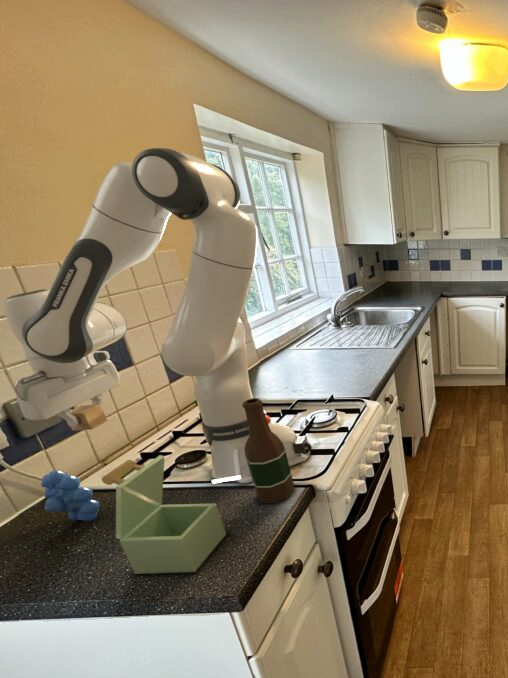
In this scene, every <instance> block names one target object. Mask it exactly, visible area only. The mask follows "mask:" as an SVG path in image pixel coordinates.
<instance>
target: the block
mask: <svg viewBox="0 0 508 678" xmlns="http://www.w3.org/2000/svg"><path fill="white" fill-rule="evenodd" d="M102 408H103V406H102V407H101V405H92V404H88V405H87V404H86V405H80V406H78V407H75V408H73V409H71V410H72V412H71V413H70V414H71V415H73V416H74V417H80V419H81V421H82V423H81V424H79V425H77V426H69V427H70V429H71V431H92V430H94V429H96V428H98V427H99V426H101V425H103V424H104V423H107V422H108V418H107V416H106V415H105V411H104V412H103V410H104V409H103V410H102Z"/></svg>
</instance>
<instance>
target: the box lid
mask: <svg viewBox="0 0 508 678" xmlns="http://www.w3.org/2000/svg"><path fill="white" fill-rule="evenodd" d="M164 470H165V455H161V454H159V455H158V456H156V457H155V458H154V459H152V460H151V461H150V462H148V463H147V464H145V465H141V464H137V462H136V461H135V460H132V459H127V460H126V461H124V462H123V463H121V464H119V465H118V466H117V467H115V468H114V469H111V471H109V472H108V473H106V474H105V475H103V476H102V477H101V482H102V483H103V484H105V485H107V486H111V485H114V484H117V485H116V486H115V539H118V540H121V539H122V538H124V536H126V535H127V534H128V533H129V532H130V531H131V530H132V529H134V528H135V527H136V526H137V525H138V524H139V523H140V522H142V521H143V520H144V519H145V518H146V517H147V516H148V515H150V514H151V513H152V512H153V511H154V510H155V509H157V508H158V507H159V506H160V505H163V504H162V503H163V491H164V490H163V489H164V472H165V471H164ZM131 471H136V472H135V473H133V474H132V475H130V476H129V477H127V478H126V479H125V478H123V477H124V476H127V475H128V474H129V473H130V472H131Z"/></svg>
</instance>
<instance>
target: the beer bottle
mask: <svg viewBox="0 0 508 678" xmlns="http://www.w3.org/2000/svg"><path fill="white" fill-rule="evenodd" d="M263 405H264V402H263V401H262V400H261V399H260V398H257V397H256V398H254V397H253V399H249V400H246V401H245V402H243V406H242V407H243V408H244V409H245V412H246V417H247V422H248V427H249V438H248V440H247V442H246V444H245V456H246V460H247V463H248V467H249V470H250V473H251V477H252V480H253V481H252V483H253V487H254V491H255V493H256V495H257V498H258V499H259V501H260V502H261V503H262V504H276V503H279V502H281V501H283V500H286V499H288V498H289V497H290V496H291V494H292V493H293V492H294V491H295V485H294V483H295V482H294V480H293V476H292V472H291V466H290V467H289V463H288V459H287V455H286V451H285V448H284V445H283V443H282V441H281V440H280V439H279V437H278V436H277V435H276V434H275V433H273V432H272V431H271V430H270V428H269V425H268V422H267V419H266V416H265V414H264V411H265V410H264V411H263V409H264V407H263Z"/></svg>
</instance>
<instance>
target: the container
mask: <svg viewBox="0 0 508 678" xmlns="http://www.w3.org/2000/svg"><path fill="white" fill-rule="evenodd" d="M226 535H227V532H226V529H225V526H224V523H223V519H222V517H221V514H220V512H219V508H218V506H217V503H178V504H176V503H175V504H160V505H159V506H158V507H157V508H156V509H155V510H154V511H152V512H151V513H150V514H149V515H148V516H147V517H146V518H144V519H143V520H142V521H141V522H140V523H139V524H138V525H136V526H135V527H134V528H133V529H132V530H131V531H129V532H128V533H127V534H126V535H125V536H124V537H123V538H121V539H119V543H120V545H121V547H122V549H123V551H124V554H125V556H126V558H127V560H128V562H129V564H130V566H131V568H132V570H133V572H134V574H135V575H140V574H144V575H145V574H170V573H172V574H173V573H174V574H175V573H176V574H177V573H195V572H196V571H197V570H198V569H199V568H200V567H201V565H202V564H203V563H204V562H205V561H206V559H207V558H208V557H210V554H211V553H212V552H213V551H214V550H215V549H216V548H217V546H218V545H219V543H221V542H222V540H223V539H224V538H225V537H226Z"/></svg>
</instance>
